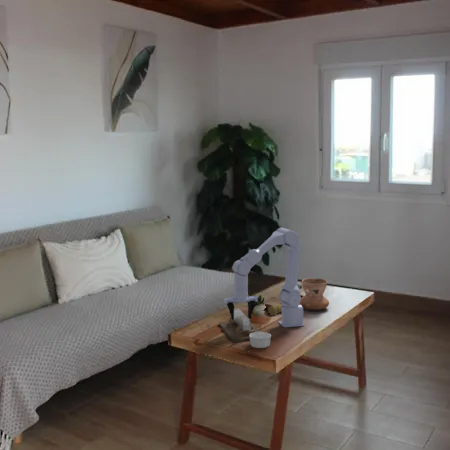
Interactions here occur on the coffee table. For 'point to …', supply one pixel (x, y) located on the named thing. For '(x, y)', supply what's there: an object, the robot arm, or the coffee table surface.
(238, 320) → the steel bar
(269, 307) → the gavel
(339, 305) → the coffee table surface
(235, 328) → the board
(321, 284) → the clay incense burner
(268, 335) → the ramekin
